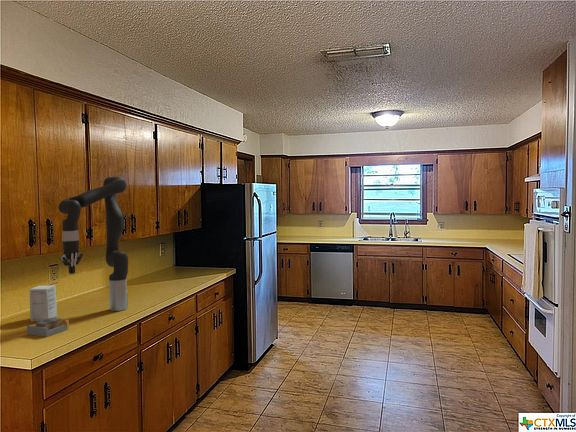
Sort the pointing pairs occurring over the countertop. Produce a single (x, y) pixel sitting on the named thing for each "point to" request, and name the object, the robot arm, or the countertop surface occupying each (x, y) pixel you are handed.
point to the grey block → (50, 323)
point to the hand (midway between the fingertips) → (72, 273)
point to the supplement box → (43, 303)
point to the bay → (46, 330)
